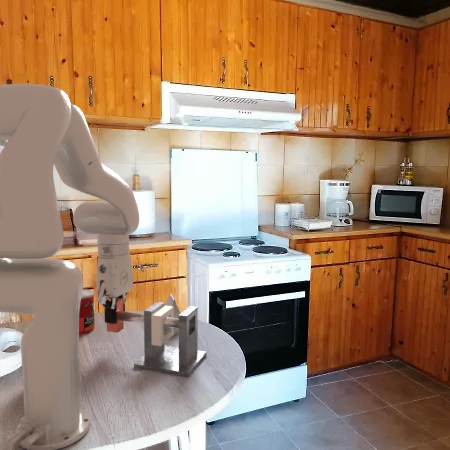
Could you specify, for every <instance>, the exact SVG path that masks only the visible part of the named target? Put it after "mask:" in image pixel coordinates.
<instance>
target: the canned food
mask: <svg viewBox="0 0 450 450" xmlns="http://www.w3.org/2000/svg"><path fill="white" fill-rule="evenodd" d="M95 324H96V323H95V294H94V291H93V290H92V289H91V290H90V289H85V288H83V289H82V296H81V302H80V311H79V335H84V334H87V333H90V332H93V330H94V329H95V326H96V325H95Z"/></svg>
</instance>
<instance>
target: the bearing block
mask: <svg viewBox="0 0 450 450" xmlns="http://www.w3.org/2000/svg"><path fill="white" fill-rule="evenodd" d="M163 306H165V302H163V301H162V302H160V301H157V302H154V303H153V304H152V305H150V306H149V307H146V309H144V310H143V314H144V324H143V336H144V337H143V339H144V341H143V343H144V344H143V347H144V351H143V352H144V354H143V355H142V356H141V357H140V358H138V360H136V361H135V362H134V363H133V368H134V369H140V370H145V371H149V372H150V371H151V372H155V373H157V372H158V373H163V374H169V375H173V376H179V377H180V376H181V377H184V378H189V377H190V376H191V375H192V374H193V372H194V371H195V370H196V369H197V367H199V365H201V363H202V362H203V360H204V359H205V358H206V357H207V351H203V350H199V349H198V346H199V345H198V340H199V339H198V335H199V334H198V333H199V331H198V326H199V325H198V324H199V323H198V320H199V315H198V309H199V307H198V306H197V305H196V306H195V305H189V306H188V307H187V308H185V309H184V310H183V311H182V312H180V313H181V314H179V333H178V346H172V345H165V343H166V342H165V343H164V344H163V345H162V346H156V345H152V338H151V315H152V314H153V313H155V312H156V311H158V310H159V309H161V308H162V307H163Z"/></svg>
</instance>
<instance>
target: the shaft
mask: <svg viewBox="0 0 450 450" xmlns="http://www.w3.org/2000/svg"><path fill="white" fill-rule="evenodd" d="M108 300H109V301H110V302H111V299H109V298H108ZM115 308H117V323H116V324H111V323H106V332H108V333H109V332H110V333H114V334H115V333H116V334H117V333H119V332H121V331H122V330H124V324H125V323H124V322H128V323H134V324H135V323H136V324H141V325H144V313H140V312H134V311H133V312H132V311H128V310H127V311H126V310H125V311H123V298H115ZM163 326H164V327H171V328H178V329H179V318H173V317H167V318H166V319H164V320H163Z"/></svg>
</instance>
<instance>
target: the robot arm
mask: <svg viewBox="0 0 450 450" xmlns="http://www.w3.org/2000/svg"><path fill="white" fill-rule="evenodd" d="M1 146H2V147H3V148H2V149H1V152H0V313H13V314H26V315H32V316H33V317H32V318H33V319H32V321H31V322H30V324H29V325H28V326H27V328H26V329H25V330H24V332H23V333H22V335H21V339H20V354H21V371H22V372H21V373H22V389H23V390H22V393H23V394H22V395H23V408H24V409H23V410H24V415H23V416H22V417H21V418H19V419H20V422H19V424H18V425H17V426H16V430H15V432H14V433H12V434H10V435H9V436H8V437H7V438H6V439H5V440H4V441H3V446H4V448H5V449H6V450H13V449H15V448H16V447H17V446H20V447H22V449H25V450H59V449H62V448H66V447H68V446H71V445H72V444H74V443H75V442H78V441H79V440H80V439H82V438H83V437H84V436H85V435H86V434H87V432H88V431H89V430H90V427H91V425H92V419H91V418H92V417H91V415H90V412H88V411H87V409H85V408H83V407H82V388H81V387H82V383H81V382H82V381H81V359H80V358H81V355H80V354H81V353H80V334H79V311H80V302H81V296H82V289H84V279H83V277H84V276H83V273H82V271H81V269H80V268H79V266H77V265H76V264H75V263H73V262H71V261H69V260H66V259H61V258H50V257H53V256H55V255H56V254H58V252H60V250H61V249H62V247H63V243H64V227H63V221H62V217H61V212H60V211H61V210H60V207H59V202H58V197H57V191H56V186H55V179H54V167H55V170H56V171H57V174H58V176H59V178H60V180H61V182H62V183H64V185H66V186H67V187H69V188H71V189H74V190H75V191H78V192H80V193H82V194H83V193H84V194H86V195H89V196H92V197H95V198H98V199H101V200H99V201H92V200H91V201H84V202H82V203H80V204H78V206H77V207H76V208H75V210H74V212H73V217H72V218H73V219H72V220H73V221H72V222H73V225H74V227H75V228H76V229H77V230H78V231H79V232H80V233H82V234H86V235H87V234H88V235H97V265H96V282H95V283H96V284H95V285H96V286H95V287H96V293H97V300H96V301H97V303H99V304H101V306H102V308H103V309H104V323H106V324H107V323H111V324H116V323H117V308H115V298H123V311H126V302H127V295H128V292H130V291H132V289H133V287H134V277H133V265H132V264H133V263H132V259H131V257H132V256H131V253H130V235H132V234H134V233H135V232H136V231H137V229H138V228H139V224H140V214H139V207H138V204H137V202H136V197H135V195H134V192H133V190H132V188H131V186H130V185H129V184H128V183H127V182H126V181H125V180H124V179H123V178H121V177H120V176H119V175H118V174H117V173H115V172H114V171H113V170H111V169H110V168H109V167H107V166H105V165H104V164H103V163H102V161H101V158H100V156H99V153H98V149H97V147H96V144H95V142H94V140H93V137H92V134H91V131H90V129H89V126H88V123H87V120H86V118H85V115H84V113H83V111H82V110H81V109H80V108H79V107H78V106H77V105H76V104H73V103H71V101H70V99H69V97H68V94H66V92H65V91H64V90H62V89H60V88H58V87H56V86H51V85H48V84H47V85H46V84H36V83H14V84H13V83H11V84H0V147H1ZM109 299H111V302H110V301H109Z"/></svg>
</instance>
